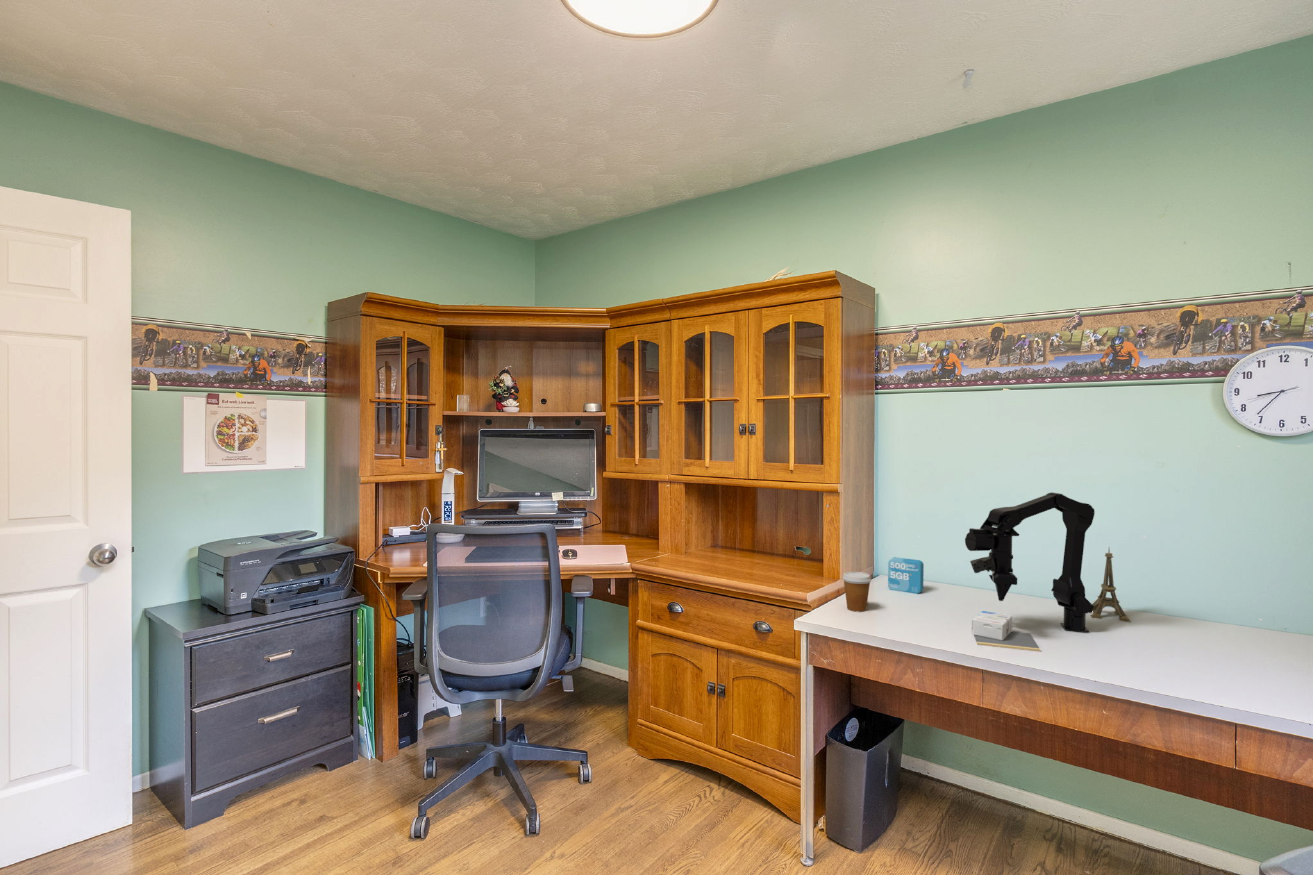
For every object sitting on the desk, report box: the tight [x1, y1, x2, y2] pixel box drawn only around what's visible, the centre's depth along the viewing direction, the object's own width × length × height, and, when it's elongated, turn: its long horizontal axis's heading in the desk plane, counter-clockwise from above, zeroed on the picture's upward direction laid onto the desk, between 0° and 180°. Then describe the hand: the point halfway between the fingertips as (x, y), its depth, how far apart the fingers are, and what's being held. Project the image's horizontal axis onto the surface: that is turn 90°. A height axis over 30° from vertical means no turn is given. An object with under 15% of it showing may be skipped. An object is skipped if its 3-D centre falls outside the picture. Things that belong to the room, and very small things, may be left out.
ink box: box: [971, 610, 1013, 641], centre depth 195 cm, size 9×5×12 cm
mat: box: [973, 631, 1041, 652], centre depth 191 cm, size 15×16×1 cm
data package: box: [887, 556, 925, 595], centre depth 246 cm, size 12×4×12 cm, turn 54°
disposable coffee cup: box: [842, 571, 872, 613], centre depth 222 cm, size 10×10×12 cm
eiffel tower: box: [1090, 548, 1132, 623], centre depth 214 cm, size 11×11×25 cm
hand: (1000, 600), depth 198 cm, fingers closed
